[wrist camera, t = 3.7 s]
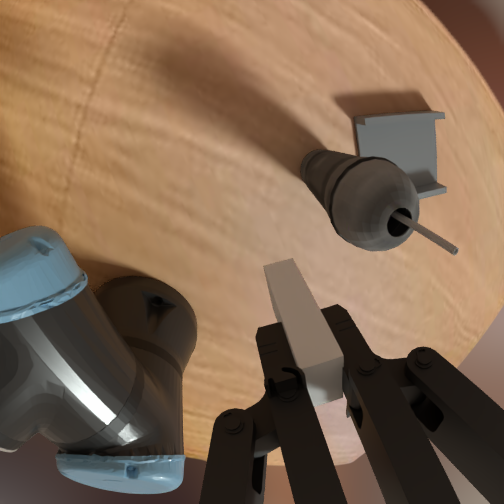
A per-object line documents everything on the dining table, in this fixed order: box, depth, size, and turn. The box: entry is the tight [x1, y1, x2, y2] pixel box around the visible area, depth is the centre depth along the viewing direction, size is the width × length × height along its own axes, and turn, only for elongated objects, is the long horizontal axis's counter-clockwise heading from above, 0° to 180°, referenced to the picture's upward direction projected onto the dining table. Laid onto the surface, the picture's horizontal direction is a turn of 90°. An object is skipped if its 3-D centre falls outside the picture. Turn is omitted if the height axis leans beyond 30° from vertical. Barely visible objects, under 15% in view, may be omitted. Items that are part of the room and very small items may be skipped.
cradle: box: [354, 110, 447, 199], centre depth 31 cm, size 12×11×2 cm
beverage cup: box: [300, 150, 458, 255], centre depth 23 cm, size 7×7×20 cm
